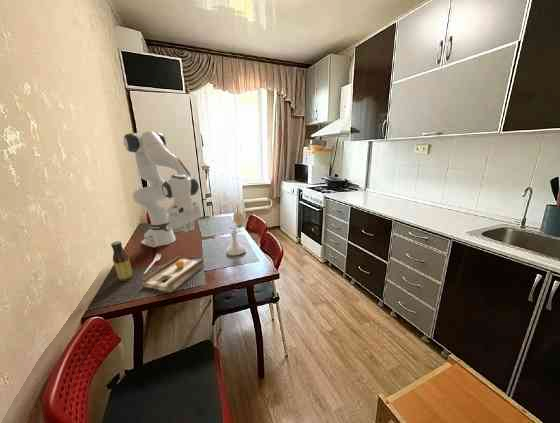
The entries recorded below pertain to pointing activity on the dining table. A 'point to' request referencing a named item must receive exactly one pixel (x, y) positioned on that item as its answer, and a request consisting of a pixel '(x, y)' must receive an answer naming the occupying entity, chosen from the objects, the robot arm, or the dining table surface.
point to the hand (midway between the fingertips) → (188, 230)
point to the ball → (179, 263)
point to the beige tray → (172, 274)
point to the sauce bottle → (121, 262)
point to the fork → (153, 262)
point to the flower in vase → (235, 247)
